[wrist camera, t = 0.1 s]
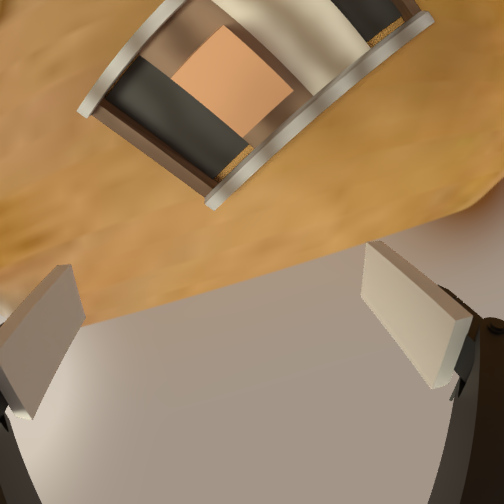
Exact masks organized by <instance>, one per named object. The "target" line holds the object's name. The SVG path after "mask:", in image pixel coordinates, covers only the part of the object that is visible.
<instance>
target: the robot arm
mask: <svg viewBox="0 0 504 504" xmlns="http://www.w3.org/2000/svg"><path fill="white" fill-rule="evenodd" d="M361 298H362V299H363V300H364V301H365V303H366V304H367V305H368V307H369V308H370V309H371V310H372V312H373V313H374V314H375V315H376V317H377V318H378V319H379V321H380V322H381V323H382V324H383V326H384V327H385V328H386V329H387V331H388V332H389V333H390V335H391V336H392V337H393V339H394V340H395V341H396V343H397V344H398V345H399V346H400V348H401V349H402V350H403V352H404V353H405V354H406V356H407V357H408V358H409V360H410V361H411V362H412V364H413V365H414V367H415V368H416V369H417V371H418V372H419V373H420V375H421V376H422V377H423V379H424V380H425V382H426V383H427V384H428V386H429V387H430V388H431V390H432V389H435V388H438V387H441V386H444V385H446V384H449V381H450V379H451V377H452V374H453V371H454V370H455V371H456V373H457V374H458V375H459V376H460V377H459V380H458V382H457V384H456V387H455V389H454V391H453V393H452V395H451V397H450V401H452V400H453V398H454V403H453V408H452V414H451V419H450V424H449V429H448V433H447V438H446V442H445V446H444V450H443V454H442V458H441V462H440V466H439V469H438V473H437V476H436V480H435V483H434V486H433V489H432V493H431V495H430V498H429V501H428V504H504V321H503V320H501V319H497V318H491V317H489V318H484V319H482V318H481V317H480V316H479V315H478V314H477V313H476V312H474V311H473V310H472V309H471V308H470V307H469V306H467V305H466V304H465V303H463V301H461V300H460V299H459V298H457V296H456V295H454V294H453V293H452V292H451V291H449V290H448V289H446V288H444V287H442V286H439V285H436V284H435V283H434V282H433V281H432V280H430V279H429V278H428V277H427V276H425V275H424V274H423V273H422V272H420V271H419V270H418V269H417V268H415V267H414V266H413V265H411V264H410V263H409V262H408V261H407V260H405V259H404V258H403V257H401V256H400V255H399V254H397V253H396V252H395V251H393V250H392V249H391V248H390V247H388V246H387V245H386V244H384V243H383V242H382V241H373V242H366V252H365V261H364V271H363V281H362V289H361ZM85 318H86V316H85V313H84V310H83V306H82V303H81V300H80V296H79V293H78V289H77V285H76V281H75V278H74V274H73V270H72V266H71V264H68V265H57V266H56V267H55V268H54V269H53V270H52V271H51V272H50V273H49V274H48V275H47V276H46V277H45V278H44V279H43V280H42V281H41V283H40V284H39V285H38V286H37V287H36V288H35V289H34V290H33V291H32V292H31V293H30V294H29V295H28V296H27V298H26V299H25V300H24V301H23V302H22V303H21V304H20V305H19V306H18V308H17V309H16V310H15V311H14V312H13V313H12V314H11V315H10V317H9V318H8V319H7V320H6V321H5V322H4V323H3V324H1V325H0V504H42V503H41V501H40V499H39V497H38V494H37V492H36V490H35V488H34V486H33V483H32V481H31V479H30V476H29V474H28V471H27V469H26V466H25V464H24V461H23V459H22V456H21V453H20V451H19V448H18V445H17V442H16V439H15V436H14V433H13V430H12V427H11V424H10V420H9V418H8V417H7V415H6V414H5V410H6V408H7V406H8V405H9V407H10V408H11V410H12V411H13V413H14V415H15V416H16V417H19V418H24V419H29V420H33V418H34V416H35V414H36V412H37V409H38V407H39V405H40V403H41V401H42V399H43V397H44V394H45V393H46V391H47V389H48V387H49V384H50V383H51V381H52V379H53V377H54V375H55V373H56V371H57V369H58V367H59V365H60V363H61V361H62V359H63V358H64V356H65V354H66V352H67V350H68V348H69V346H70V345H71V343H72V341H73V339H74V337H75V336H76V334H77V332H78V330H79V329H80V327H81V325H82V323H83V322H84V320H85Z"/></svg>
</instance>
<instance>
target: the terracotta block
mask: <svg viewBox="0 0 504 504" xmlns="http://www.w3.org/2000/svg"><path fill="white" fill-rule="evenodd" d="M171 79H172V80H173V81H174V82H175V83H177V84H178V85H179V86H181V87H182V88H183V89H184V90H186V91H187V92H188V93H189V94H191V95H192V96H193V97H194V98H195V99H197V100H198V101H199V102H200V103H202V104H203V105H204V106H205V107H206V108H208V109H209V110H210V111H211V112H212V113H214V114H215V115H216V116H217V117H218V118H220V119H221V120H222V121H223V122H224V123H226V124H227V125H228V126H229V127H230V128H231V129H233V130H234V131H235V132H236V133H237V134H238V135H239V136H241V137H242V138H243V137H244V136H245V135H246V134H247V133H248V132H249V131H250V130H251V129H252V128H253V127H254V126H255V125H256V124H258V123H259V122H260V121H261V120H262V119H263V118H264V117H265V116H266V115H267V114H268V113H269V112H270V111H272V110H273V109H274V108H275V107H276V106H277V105H278V104H279V103H280V102H281V101H283V100H284V99H285V98H286V97H287V96H288V95H289V94H290V93H292V92H293V91H294V90H293V89H292V88H291V87H290V86H289V85H288V84H287V83H286V82H285V81H284V80H283V79H282V78H281V77H280V76H279V75H278V74H277V73H276V72H275V71H274V70H273V69H272V68H271V67H270V66H268V65H267V64H266V63H265V62H264V61H263V60H262V59H261V58H260V57H259V56H258V55H257V54H256V53H255V52H254V51H252V50H251V49H250V48H249V47H248V46H247V45H246V44H245V43H244V42H242V41H241V40H240V39H239V38H238V37H237V36H236V35H235V34H233V33H232V32H231V31H230V30H229V29H228V28H226V27H225V26H224V25H222V26H220V27H219V28H218V29H217V30H216V31H215V32H214V33H213V34H212V35H211V36H210V37H209V38H208V39H207V40H206V41H205V42H204V43H203V44H202V45H201V46H200V47H199V48H198V49H197V50H196V51H195V52H194V53H193V54H192V55H191V56H190V57H189V58H188V59H187V60H186V61H185V62H184V63H183V64H182V65H181V66H180V67H179V69H178V70H177V71H176V72H175V74H174V75H173V76H172V78H171Z"/></svg>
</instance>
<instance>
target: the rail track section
mask: <svg viewBox="0 0 504 504" xmlns="http://www.w3.org/2000/svg"><path fill="white" fill-rule="evenodd" d="M399 17H402V18H403V20H404V21H405V23H404V24H402V25H401V26H400V27H398V28H397V29H396V30H394V31H393V32H392V33H390V34H389V35H388V36H386V37H385V38H384V39H383V40H381V41H380V42H379V43H377V44H376V45H375V46H373V47H372V48H370V47H369V45H368V44H367V43H366V42H367V41H369V40H370V39H371V38H373V37H374V36H375V35H377V34H378V33H379V32H380V31H382V30H383V29H384V28H386V27H387V26H388V25H390V24H391V23H392V22H394V21H395V20H397V19H398V18H399ZM434 22H435V21H434V20H433V18H432V16H431V15H430V13H429V12H428V11H421V10H420V8H419V7H418V5H417V4H416V2H415V1H414V0H165V1H164V2H163V3H162V4H161V5H160V6H159V7H158V8H157V9H156V10H155V11H154V12H153V14H152V15H151V16H150V17H149V18H148V19H147V20H146V21H145V22H144V23H143V24H142V26H141V27H140V28H139V29H138V30H137V31H136V32H135V34H134V35H133V36H132V37H131V38H130V39H129V41H128V42H127V43H126V44H125V45H124V47H123V48H122V49H121V50H120V52H119V53H118V54H117V55H116V57H115V58H114V59H113V60H112V62H111V63H110V64H109V66H108V67H107V68H106V70H105V71H104V72H103V74H102V75H101V76H100V78H99V79H98V80H97V82H96V83H95V85H94V86H93V87H92V89H91V90H90V92H89V93H88V95H87V96H86V98H85V99H84V101H83V102H82V104H81V105H80V107H79V108H78V110H77V112H78V113H80V114H81V115H82V116H84V117H85V118H88V117H89V116H90V115H92V116H94V117H95V118H96V119H98V120H99V121H101V122H102V123H103V124H105V125H106V126H107V127H109V128H110V129H112V130H113V131H114V132H116V133H117V134H119V135H120V136H121V137H123V138H124V139H125V140H127V141H128V142H130V143H131V144H132V145H134V146H135V147H136V148H138V149H139V150H141V151H142V152H143V153H145V154H146V155H147V156H149V157H150V158H152V159H153V160H154V161H156V162H157V163H158V164H160V165H161V166H163V167H164V168H165V169H167V170H168V171H169V172H171V173H172V174H173V175H175V176H176V177H177V178H179V179H180V180H182V181H183V182H184V183H186V184H187V185H188V186H190V187H191V188H192V189H194V190H195V191H196V192H198V193H199V194H201V195H202V196H203V197H205V205H207V206H208V207H209V208H211V209H212V210H214V211H215V210H216V209H217V208H218V207H219V206H220V205H221V204H222V203H223V202H224V201H225V200H226V199H227V198H228V197H229V196H230V195H231V194H232V193H233V192H235V191H236V190H237V189H238V188H239V187H240V186H241V185H242V184H243V183H244V182H245V181H246V180H247V179H248V178H249V177H250V176H252V175H253V174H254V173H255V172H256V171H257V170H258V169H259V168H260V167H261V166H262V165H263V164H265V163H266V162H267V161H268V160H269V159H270V158H271V157H272V156H273V155H274V154H275V153H277V152H278V151H279V150H280V149H281V148H282V147H283V146H284V145H285V144H287V143H288V142H289V141H290V140H291V139H292V138H293V137H294V136H295V135H297V134H298V133H299V132H300V131H301V130H302V129H303V128H305V127H306V126H307V125H308V124H309V123H310V122H311V121H313V120H314V119H315V118H316V117H317V116H318V115H319V114H321V113H322V112H323V111H324V110H325V109H326V108H328V107H329V106H330V105H331V104H332V103H333V102H335V101H336V100H337V99H338V98H339V97H341V96H342V95H343V94H344V93H345V92H346V91H348V90H349V89H350V88H351V87H352V86H354V85H355V84H356V83H357V82H358V81H360V80H361V79H362V78H363V77H365V76H366V75H367V74H368V73H369V72H371V71H372V70H373V69H374V68H376V67H377V66H378V65H379V64H381V63H382V62H383V61H384V60H386V59H387V58H388V57H389V56H391V55H392V54H393V53H394V52H396V51H397V50H398V49H400V48H401V47H402V46H403V45H405V44H406V43H407V42H409V41H410V40H411V39H413V38H414V37H415V36H416V35H418V34H419V33H420V32H422V31H423V30H424V29H426V28H427V27H428V26H430V25H431V24H432V23H434ZM222 25H224V26H225V27H226V28H228V29H229V30H230V31H231V32H232V33H233V34H235V35H236V36H237V37H238V38H239V39H240V40H241V41H242V42H244V43H245V44H246V45H247V46H248V47H249V48H250V49H251V50H252V51H254V52H255V53H256V54H257V55H258V56H259V57H260V58H261V59H262V60H263V61H264V62H265V63H266V64H267V65H268V66H270V67H271V68H272V69H273V70H274V71H275V72H276V73H277V74H278V75H279V76H280V77H281V78H282V79H283V80H284V81H285V82H286V83H287V84H288V85H289V86H290V87H291V88H292V89H293V90H294V91H293V92H292V93H290V94H289V95H288V96H287V97H286V98H285V99H284V100H283V101H281V102H280V103H279V104H278V105H277V106H276V107H275V108H274V109H273V110H272V111H270V112H269V113H268V114H267V115H266V116H265V117H264V118H263V119H262V120H261V121H260V122H259V123H258V124H256V125H255V126H254V127H253V128H252V129H251V130H250V131H249V132H248V133H247V134H246V135H245V136H244V137H243V138H242V137H241V136H239V135H238V134H237V133H236V132H235V131H234V130H233V129H231V128H230V127H229V126H228V125H227V124H226V123H224V122H223V121H222V120H221V119H220V118H218V117H217V116H216V115H215V114H214V113H212V112H211V111H210V110H209V109H208V108H206V107H205V106H204V105H203V104H202V103H200V102H199V101H198V100H197V99H195V98H194V97H193V96H192V95H191V94H189V93H188V92H187V91H186V90H184V89H183V88H182V87H181V86H179V85H178V84H177V83H175V82H174V81H173V80H172V79H171V78H172V76H173V75H174V74H175V72H176V71H177V70H178V69H179V67H180V66H181V65H182V64H183V63H184V62H185V61H186V60H187V59H188V58H189V57H190V56H191V55H192V54H193V53H194V52H195V51H196V50H197V49H198V48H199V47H200V46H201V45H202V44H203V43H204V42H205V41H206V40H207V39H208V38H209V37H210V36H211V35H212V34H213V33H214V32H215V31H216V30H217V29H218V28H219V27H220V26H222ZM137 54H139V56H138V58H137V59H136V60H135V61H134V62H133V64H132V65H131V66H130V67H129V68H128V70H127V71H126V72H125V73H124V75H123V76H122V77H121V79H120V80H119V81H118V82H117V84H116V85H115V86H114V88H113V89H112V90H111V92H110V93H109V94H108V96H107V97H106V98H105V97H104V96H105V94H106V93H107V92H108V90H109V89H110V88H111V86H112V85H113V84H114V82H115V81H116V80H117V78H118V77H119V76H120V75H121V73H122V72H123V71H124V69H125V68H126V67H127V66H128V64H129V63H130V62H131V61H132V60H133V58H134V57H135V56H136V55H137ZM249 144H250V145H251V146H252V147H253V148H254V150H253V151H252V152H251V153H250V154H249V155H248V156H247V157H246V158H245V159H244V160H243V161H241V162H240V163H239V164H238V165H237V166H236V167H235V168H234V169H233V170H232V171H231V172H230V173H229V174H228V175H227V176H226V177H225V178H224V179H223V180H222V181H221V182H220V183H218V182H217V181H216V180H214V178H215V177H216V176H217V175H218V174H219V173H220V172H221V171H222V170H223V169H224V168H225V167H226V166H227V165H228V164H229V163H230V162H231V161H232V160H233V159H234V158H235V157H236V156H237V155H238V154H239V153H240V152H241V151H242V150H243V149H244V148H245V147H246V146H247V145H249Z"/></svg>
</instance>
